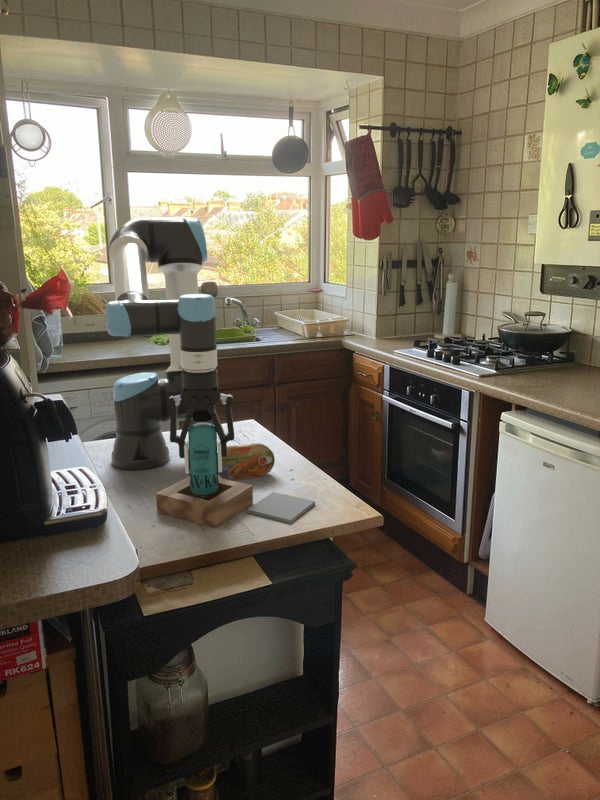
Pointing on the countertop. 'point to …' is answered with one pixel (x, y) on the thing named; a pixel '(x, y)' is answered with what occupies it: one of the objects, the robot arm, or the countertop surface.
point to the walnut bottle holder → (205, 502)
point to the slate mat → (281, 507)
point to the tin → (246, 461)
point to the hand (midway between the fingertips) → (203, 470)
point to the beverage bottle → (203, 455)
